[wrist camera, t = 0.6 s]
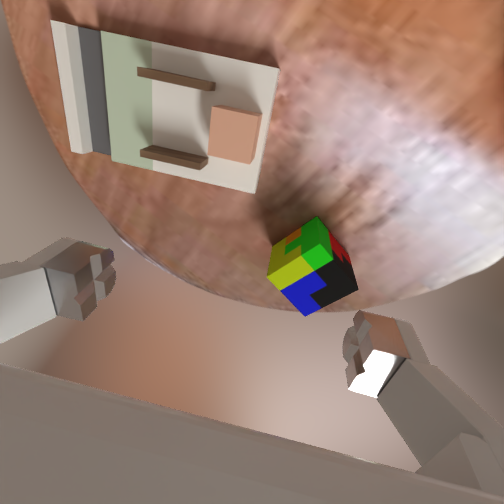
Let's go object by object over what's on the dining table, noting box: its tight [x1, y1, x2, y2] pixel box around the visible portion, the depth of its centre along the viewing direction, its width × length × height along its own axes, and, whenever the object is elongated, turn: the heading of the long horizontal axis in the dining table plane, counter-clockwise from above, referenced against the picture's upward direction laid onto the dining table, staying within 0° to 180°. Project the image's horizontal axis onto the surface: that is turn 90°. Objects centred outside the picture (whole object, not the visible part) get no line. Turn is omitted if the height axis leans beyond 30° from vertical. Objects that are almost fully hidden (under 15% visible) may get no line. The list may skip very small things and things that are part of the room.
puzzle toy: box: [267, 216, 359, 316], centre depth 47 cm, size 10×10×10 cm
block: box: [207, 105, 263, 165], centre depth 38 cm, size 6×6×4 cm
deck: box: [51, 20, 280, 194], centre depth 42 cm, size 17×31×3 cm, turn 80°
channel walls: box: [137, 67, 216, 170], centre depth 39 cm, size 11×9×4 cm
